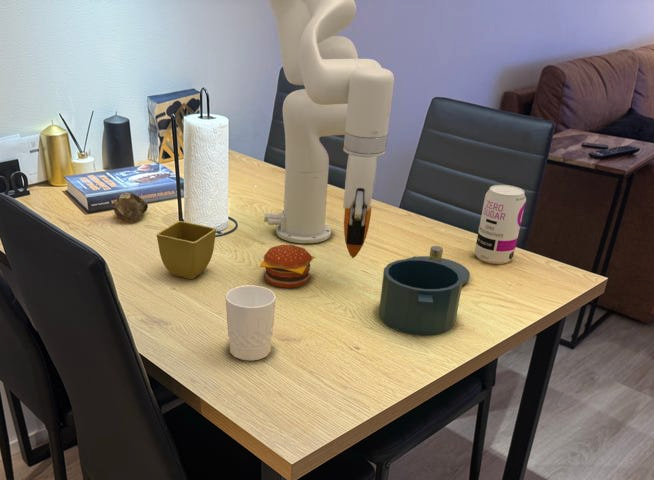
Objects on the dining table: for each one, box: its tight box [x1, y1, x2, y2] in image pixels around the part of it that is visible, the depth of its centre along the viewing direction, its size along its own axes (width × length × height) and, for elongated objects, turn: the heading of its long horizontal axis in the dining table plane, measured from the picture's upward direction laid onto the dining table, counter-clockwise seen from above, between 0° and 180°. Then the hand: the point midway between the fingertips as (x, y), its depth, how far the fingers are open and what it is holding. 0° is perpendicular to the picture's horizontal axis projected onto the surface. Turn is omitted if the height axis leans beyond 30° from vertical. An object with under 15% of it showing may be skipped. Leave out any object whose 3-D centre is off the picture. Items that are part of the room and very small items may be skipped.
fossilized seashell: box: [113, 192, 149, 222], centre depth 164 cm, size 8×7×10 cm
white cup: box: [225, 284, 277, 362], centre depth 111 cm, size 8×8×10 cm
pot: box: [378, 255, 464, 336], centre depth 123 cm, size 14×19×8 cm
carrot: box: [343, 190, 372, 259], centre depth 130 cm, size 5×5×15 cm
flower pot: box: [156, 220, 217, 280], centre depth 136 cm, size 9×9×9 cm
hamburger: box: [259, 244, 316, 289], centre depth 136 cm, size 9×10×7 cm
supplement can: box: [473, 184, 527, 265], centre depth 146 cm, size 8×8×15 cm
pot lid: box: [406, 245, 471, 286], centre depth 139 cm, size 15×15×6 cm
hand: (355, 237), depth 132 cm, fingers closed on carrot, 4 cm apart
